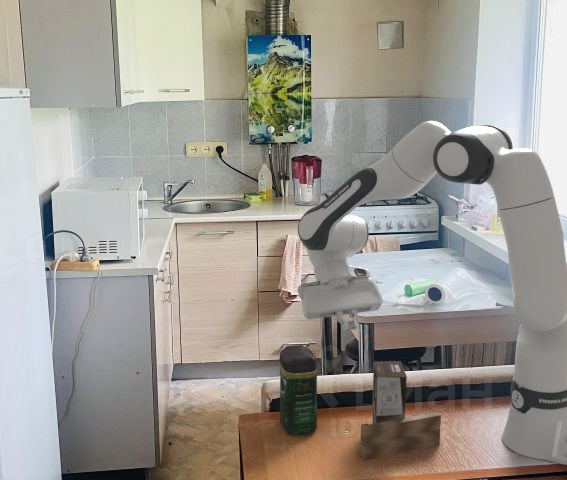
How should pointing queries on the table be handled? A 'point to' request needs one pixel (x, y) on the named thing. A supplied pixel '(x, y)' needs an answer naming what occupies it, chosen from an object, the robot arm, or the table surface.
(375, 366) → the coffee box
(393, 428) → the keeper bracket
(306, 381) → the coffee jar
